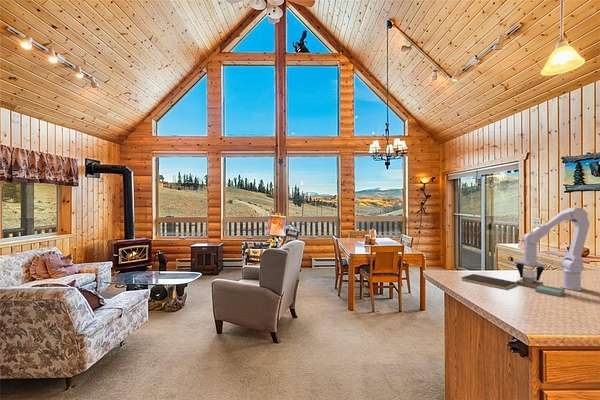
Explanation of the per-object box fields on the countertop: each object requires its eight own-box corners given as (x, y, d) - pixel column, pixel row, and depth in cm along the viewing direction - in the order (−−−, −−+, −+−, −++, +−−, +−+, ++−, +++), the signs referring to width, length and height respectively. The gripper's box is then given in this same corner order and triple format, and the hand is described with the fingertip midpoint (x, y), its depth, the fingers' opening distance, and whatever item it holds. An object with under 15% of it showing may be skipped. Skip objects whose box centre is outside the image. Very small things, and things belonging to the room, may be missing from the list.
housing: (527, 279, 183) (527, 269, 183) (536, 281, 180) (536, 270, 180) (522, 281, 178) (522, 271, 178) (532, 283, 175) (532, 272, 175)
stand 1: (522, 282, 186) (522, 278, 186) (543, 285, 178) (543, 282, 178) (516, 284, 180) (516, 281, 180) (537, 288, 172) (537, 285, 172)
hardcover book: (504, 290, 169) (505, 286, 169) (461, 281, 187) (461, 277, 187) (516, 286, 179) (516, 281, 179) (473, 277, 197) (473, 273, 197)
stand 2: (541, 288, 172) (541, 284, 172) (564, 293, 165) (564, 289, 165) (535, 291, 166) (535, 287, 166) (559, 296, 158) (559, 292, 158)
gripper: (512, 253, 182) (512, 277, 182) (544, 257, 171) (543, 282, 171) (517, 252, 186) (516, 275, 186) (547, 256, 175) (547, 280, 175)
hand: (529, 278), depth 179 cm, fingers open, 7 cm apart
